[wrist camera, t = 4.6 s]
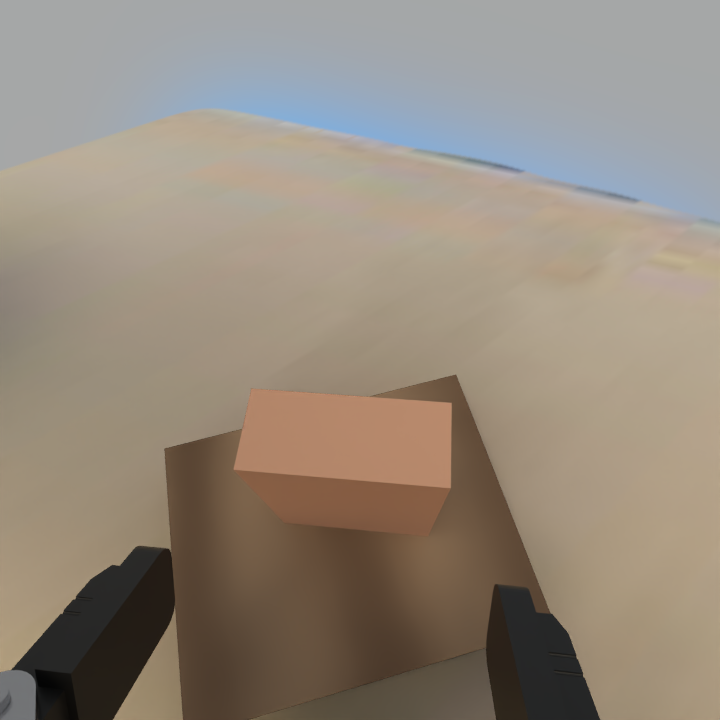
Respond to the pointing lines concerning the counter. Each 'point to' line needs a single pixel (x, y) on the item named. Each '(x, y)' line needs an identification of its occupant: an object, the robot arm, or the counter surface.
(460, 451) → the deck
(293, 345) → the counter surface
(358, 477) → the tile
